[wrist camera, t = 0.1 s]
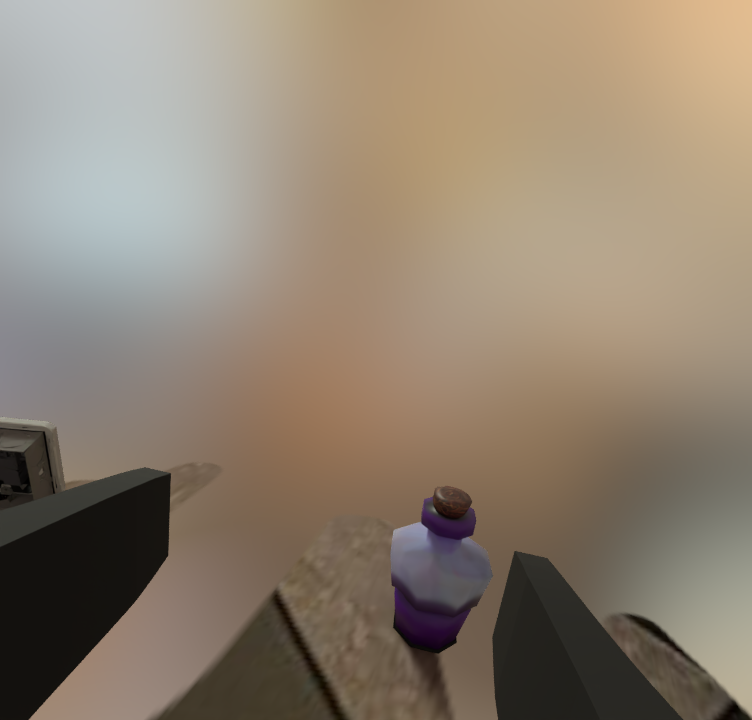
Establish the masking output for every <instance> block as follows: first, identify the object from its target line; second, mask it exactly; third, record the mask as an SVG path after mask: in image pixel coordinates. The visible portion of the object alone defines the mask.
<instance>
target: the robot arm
mask: <svg viewBox="0 0 752 720" xmlns="http://www.w3.org/2000/svg"><path fill="white" fill-rule="evenodd" d="M170 481H171V473H167V472H163V471H158V470H154V469H150V468H140V469H136V470H131V471H128V472H124V473H120V474H117V475H114V476H110V477H107V478H104V479H100V480H97V481H94V482H91V483H88V484H84V485H81V486H78V487H75V488H72V489H69V490H66V491H62V492H59V493H56V494H53V495H50V496H47V497H44V498H40V499H37V500H34V501H31V502H28V503H25V504H21V505H18V506H15V507H11V508H8V509H4V510H1V511H0V720H29V719H30V717H31V716H32V715H33V714H34V713H35V712H36V711H37V710H38V709H39V707H40V706H41V705H42V704H43V703H44V702H45V701H46V699H48V697H49V696H50V695H51V694H52V693H53V692H54V691H55V690H56V689H57V687H58V686H59V685H60V684H61V683H62V682H63V681H64V680H65V679H66V678H67V677H68V675H69V674H70V673H71V672H72V671H73V670H74V669H75V668H76V667H77V666H78V664H80V662H81V661H82V660H83V659H84V658H85V657H86V656H87V655H88V654H89V652H91V650H92V649H93V648H94V647H95V646H96V645H97V644H98V643H99V642H100V640H101V639H102V638H103V637H104V636H105V635H106V634H107V633H108V632H109V631H110V629H111V628H112V627H113V626H114V625H115V624H116V623H117V622H118V621H119V619H120V618H121V617H122V616H123V615H124V614H125V613H126V612H127V610H128V609H129V608H130V607H131V606H132V605H133V604H134V602H135V601H136V600H137V598H138V597H139V596H140V595H141V593H142V592H143V591H144V589H145V588H146V587H147V585H148V584H149V582H150V581H151V580H152V578H153V577H154V575H155V574H156V572H157V571H158V570H159V568H160V567H161V565H162V564H163V562H164V561H165V559H166V558H167V557H168V545H169V513H170ZM493 664H494V684H495V700H496V707H497V714H498V720H683V719H682V718H681V717H680V716H679V715H678V713H677V712H676V711H675V710H674V709H673V708H672V707H671V706H670V705H669V703H668V702H667V701H666V700H665V699H664V698H663V697H662V696H661V695H660V694H659V692H658V691H657V690H656V689H655V688H654V687H653V686H652V685H651V684H650V682H649V681H648V680H647V679H646V678H645V677H644V675H643V674H642V673H641V672H640V671H639V670H638V669H637V667H636V666H635V665H634V664H633V663H632V662H631V660H630V659H629V658H628V657H627V656H626V654H625V653H624V652H623V651H622V650H621V649H620V647H619V646H618V645H617V644H616V643H615V641H614V640H613V639H612V638H611V636H610V635H609V634H608V633H607V632H606V630H605V629H604V628H603V627H602V625H601V624H600V623H599V622H598V621H597V619H596V618H595V617H594V616H593V614H592V613H591V612H590V611H589V609H588V608H587V607H586V606H585V604H584V603H583V602H582V601H581V599H580V598H579V597H578V596H577V594H576V593H575V592H574V591H573V589H572V588H571V587H570V585H569V584H568V583H567V582H566V581H565V579H564V578H563V577H562V575H561V574H560V573H559V572H558V571H557V569H556V568H555V567H554V566H553V564H552V563H551V562H550V561H549V560H548V559H547V558H544V557H539V556H535V555H531V554H526V553H522V552H517V551H515V552H514V556H513V559H512V563H511V567H510V571H509V575H508V579H507V583H506V587H505V591H504V594H503V598H502V602H501V606H500V610H499V614H498V618H497V622H496V625H495V629H494V634H493Z"/></svg>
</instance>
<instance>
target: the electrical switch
mask: <svg viewBox="0 0 752 720" xmlns="http://www.w3.org/2000/svg"><path fill="white" fill-rule="evenodd" d="M64 490H65V481H64V475H63V468H62V462H61V456H60V449H59V442H58V436H57V429H56V427H55V426H54V425H53V424H52V423H51V422H45V421H35V420H25V419H15V418H4V417H0V494H4V495H10V496H8V497H7V499H6V500H1V501H0V511H1V510H4V509H8V508H11V507H15V506H18V505H21V504H25V503H28V502H31V501H34V500H37V499H40V498H44V497H47V496H50V495H53V494H56V493H59V492H62V491H64ZM16 496H17V497H16ZM14 497H16V498H14ZM13 498H14V499H13ZM11 499H13V500H12V501H11ZM10 501H11V502H10ZM10 506H11V507H10Z"/></svg>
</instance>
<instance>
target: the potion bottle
mask: <svg viewBox="0 0 752 720" xmlns="http://www.w3.org/2000/svg"><path fill="white" fill-rule="evenodd" d="M471 503H472V500H471V498H470V497H469V495H468V494H467V493H465V492H464V491H462V490H460V489H457V488H454V487H449V486H445V487H437V488H436V489H435V492H434V496H433V497H431V498H427V499H425V500H424V504H423V508H422V516H421V522H419V523H415V524H412V525H409V526H405V527H402V528H399V529H395V530H394V533H393V540H392V546H391V578H392V586H394V587H395V616H394V625H393V628H394V629H395V630H396V631H397V632H398V633H399V634H400V635H401V636H402V638H403V639H404V640H405V641H406V642H407V643H408V644H409V645H410V646H411V647H414V648H418V649H422V650H426V651H430V652H434V653H438V654H439V653H440V652H442V651H443V650H445V649H447V648H448V647H450V646H452V645H453V644H455V643H456V642H457V641H456V636H457V634H458V633H459V631H460V629H461V627H462V625H463V623H464V621H465V620H466V618H467V616H468V614H469V612H470V610H471V608H473V607H475V606H477V604H478V602H479V600H480V599H481V597H482V595H483V593H484V591H485V589H486V588H487V586H488V584H489V582H490V580H491V578H492V576H493V575H492V570H491V566H490V562H489V557H488V553H487V550H485V549H484V548H483V547H481V546H479V545H478V544H477V543H475V542H474V541H473V540H471V539H470V538H468V537H469V536H472V535H473V532H474V528H475V524H476V517H475V513H474V510H473V509H472V508H470V505H471Z"/></svg>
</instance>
